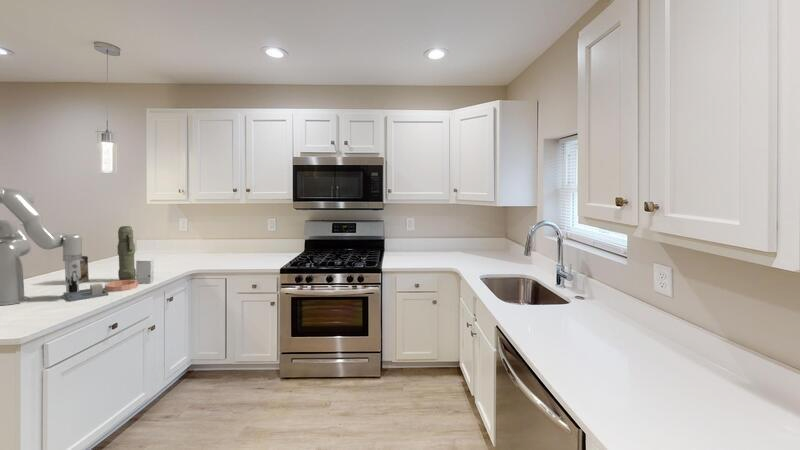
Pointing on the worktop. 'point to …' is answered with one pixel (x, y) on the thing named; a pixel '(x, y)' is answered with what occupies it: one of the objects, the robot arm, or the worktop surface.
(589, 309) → the worktop surface
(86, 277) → the coffee box
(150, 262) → the skincare box
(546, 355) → the worktop surface
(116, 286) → the bowl
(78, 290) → the pebble
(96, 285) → the pebble
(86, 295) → the tray
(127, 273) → the thermos
